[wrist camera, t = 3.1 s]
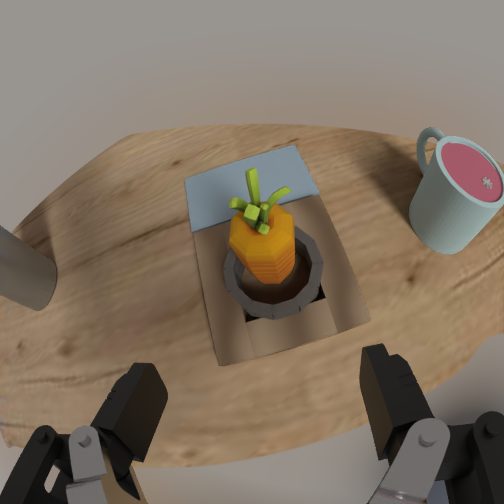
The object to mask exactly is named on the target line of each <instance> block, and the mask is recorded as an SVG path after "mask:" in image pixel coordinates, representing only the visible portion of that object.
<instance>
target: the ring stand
mask: <svg viewBox="0 0 504 504" xmlns="http://www.w3.org/2000/svg"><path fill="white" fill-rule="evenodd" d="M280 206H281V207H282V208H283V209H285V210H286V211H287V212H288V213H290V214H291V215H292V216H293V218H294V231H295V251H296V252H297V253H298V254H299V255H301V256H302V257H303V258H304V259H306V261H307V264H308V267H309V270H310V272H311V273H310V278H309V283H308V284H307V285H306V286H305V287H304V288H303V289H302V290H301V291H300V293H299V294H298V295H297V296H296V297H295V298H294V299H291V300H288V301H284V302H281V303H278V304H274V305H270V304H266V303H261V302H257V301H253V300H251V299H250V298H249V297H248V296H247V295H246V294H245V293H244V290H243V286H242V282H241V278H242V275H243V272H244V269H245V266H244V265H243V264H242V263H241V261H240V260H239V258H238V257H237V256H236V254H235V253H234V251H233V250H232V248H231V247H230V244H229V236H230V226H231V221H229V222H226V223H223V224H220V225H217V226H214V227H211V228H207V229H204V230H201V231H198V232H195V233H193V234H194V241H195V247H196V253H197V259H198V265H199V271H200V276H201V282H202V287H203V293H204V298H205V303H206V308H207V313H208V318H209V323H210V328H211V333H212V337H213V342H214V346H215V351H216V355H217V360H218V364H219V366H227V365H231V364H236V363H240V362H244V361H248V360H252V359H256V358H260V357H264V356H267V355H271V354H275V353H278V352H282V351H285V350H289V349H292V348H295V347H299V346H302V345H305V344H308V343H311V342H315V341H318V340H321V339H324V338H327V337H330V336H332V335H335V334H338V333H341V332H344V331H347V330H349V329H352V328H355V327H357V326H360V325H363V324H365V323H368V322H369V321H370V320H371V317H370V314H369V312H368V309H367V306H366V303H365V301H364V298H363V295H362V293H361V290H360V287H359V285H358V282H357V280H356V277H355V275H354V272H353V270H352V267H351V265H350V262H349V260H348V258H347V255H346V253H345V251H344V248H343V246H342V244H341V241H340V239H339V237H338V234H337V232H336V230H335V228H334V225H333V223H332V221H331V219H330V217H329V215H328V212H327V210H326V208H325V206H324V204H323V202H322V200H321V198H320V196H319V194H318V195H314V196H311V197H307V198H304V199H301V200H297V201H294V202H290V203H287V204H284V205H280ZM319 286H320V289H321V292H322V295H323V298H324V299H322V300H319V301H316V302H314V301H315V300H316V299H317V296H318V291H319ZM245 310H246V311H247V312H248V313H249V314H250V315H251V316H252V317H253V318H257V320H253V321H249V322H248V321H247V317H246V313H245Z"/></svg>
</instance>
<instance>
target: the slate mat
mask: <svg viewBox="0 0 504 504" xmlns="http://www.w3.org/2000/svg"><path fill="white" fill-rule="evenodd" d="M250 168H256V170H257V174H258V181H259V190H260V200H261V202H264V201H267V200H268V199H269V197H270V196H271V195H272V194H273V193H274V192H275V191H277V190H278V189H280V188H282V187H284V186H286V187H288V188H290V189H291V192H289V193H288V194H286V195H285V196H283V197H281V198H280V199H279V200H278V201H277V202H276V203H277V204H278V205H284V204H287V203H290V202H294V201H297V200H301V199H304V198H307V197H311V196H314V195H318V194H319V191H318V189H317V187H316V185H315V183H314V181H313V179H312V177H311V175H310V173H309V171H308V169H307V167H306V165H305V163H304V161H303V160H302V158H301V156H300V154H299V152H298V150H297V148H296V147H295V145H291V146H287V147H284V148H280V149H276V150H273V151H269V152H266V153H262V154H259V155H255V156H252V157H249V158H245V159H242V160H239V161H236V162H233V163H230V164H227V165H224V166H220V167H218V168H215V169H212V170H209V171H206V172H203V173H200V174H197V175H195V176H192V177H189V178H186V179H185V186H186V194H187V202H188V209H189V217H190V223H191V230H192V233H195V232H198V231H201V230H204V229H207V228H211V227H214V226H217V225H220V224H223V223H226V222H229V221H231V218H232V217H233V216H234V215H235V214H236V213H238V212H239V210H235V209H231V208H229V202H230V199H231V198H240V199H243V200H244V201H246V202H248V203H249V202H251V199H250V195H249V191H248V186H247V182H246V176H245V171H246V170H248V169H250Z"/></svg>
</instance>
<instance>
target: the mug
mask: <svg viewBox="0 0 504 504" xmlns="http://www.w3.org/2000/svg"><path fill="white" fill-rule="evenodd" d="M429 137H435V138H436V139H437V140H438V141H439V142H438V143H437V146H436V148H435V150H434V153H433V155H432V158H431V160H430V162H429V165H427V163H426V158H425V145H426V141H427V139H428V138H429ZM417 159H418V164H419V167H420V170H421V172H422V174H423V178H422V180H421V182H420V185H419V187H418V189H417V191H416V193H415V195H414V197H413V199H412V201H411V203H410V207H409V218H410V222H411V225H412V228H413V230H414V232H415V233H416V235H417V236H418V238H419V239H420V240H421V241H422V242H423V243H424V244H425V245H426V246H428V247H429V248H430V249H432V250H434V251H436V252H438V253H442V254H454V253H457V252H459V251H461V250H462V249H463V248H464V247H465V246H466V245H467V244H468V243H469V242H470V241H471V240H472V239H473V238H474V237H475V236H476V235H477V234H478V233H479V231H480V230H481V229H482V228H483V227H484V226H485V225H486V224H487V223H488V222H489V220H490V219H491V218H492V217H493V216H494V215H495V214H496V212H497V211H498V210H499V209H500V208H501V207H502V205H503V204H504V174H503V172H502V171H501V169H500V167H499V166H498V164H497V163H496V161H495V160H494V159H493V158H492V157H491V156H490V155H489V154H488V153H487V152H486V151H485V150H484V149H483V148H481V147H480V146H478V145H477V144H475V143H474V142H472V141H469V140H467V139H465V138H462V137H457V136H448V137H446V136H445V135H444V134H443V133H442V132H441V131H440V130H438V129H436V128H432V127H429V128H426V129H424V130H423V131H422V132H421V134H420V136H419V138H418V141H417Z"/></svg>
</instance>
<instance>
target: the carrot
mask: <svg viewBox="0 0 504 504" xmlns="http://www.w3.org/2000/svg"><path fill="white" fill-rule="evenodd" d="M245 176H246V182H247V186H248V191H249V195H250V199H251V202H249V203H248V202H246V201H244V200H243V199H240V198H231V199H230V202H229V208H231V209H235V210H239V212H238V213H236V214H235V215H234V216H233V217H232V218H231V226H230V236H229V244H230V247H231V248H232V250H233V251H234V253H235V254H236V256H237V257H238V258H239V260H240V261H241V263H242V264H243V265H244V266H245V267H246V268H247V269H248V270H249V271H250V272H251V273H252V274H253V275H254V276H255V277H256V278H257V279H258V280H260V281H261V282H263V283H264V284H280V283H281V282H282V281H283V280H284V279H285V278H286V277H287V276H288V275H289V274H290V273H291V271H292V269H293V266H294V264H295V231H294V218H293V216H292V215H291V214H290V213H288V212H287V211H286V210H285V209H283V208H282V207H281V206H280V205H278V204H277V203H276V202H277V201H278V200H279V199H280V198H281V197H283V196H285V195H286V194H288V193H289V192H291V189H290V188H288V187H286V186H284V187H282V188H280V189H278V190H277V191H275V192H274V193H273V194H272V195H271V196H270V197H269V199H268V200H267V201H264V202H261V200H260V190H259V181H258V174H257V170H256V168H250V169H248V170H246V171H245Z"/></svg>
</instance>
